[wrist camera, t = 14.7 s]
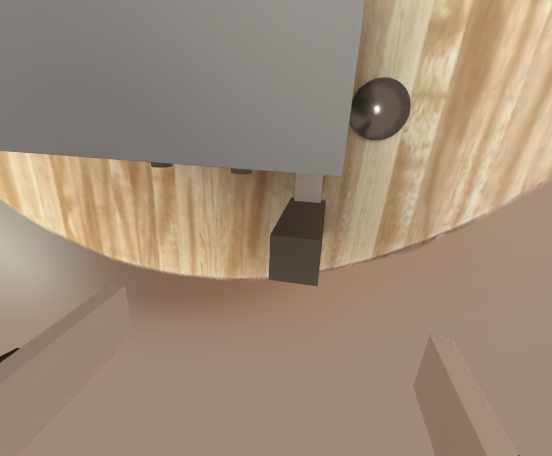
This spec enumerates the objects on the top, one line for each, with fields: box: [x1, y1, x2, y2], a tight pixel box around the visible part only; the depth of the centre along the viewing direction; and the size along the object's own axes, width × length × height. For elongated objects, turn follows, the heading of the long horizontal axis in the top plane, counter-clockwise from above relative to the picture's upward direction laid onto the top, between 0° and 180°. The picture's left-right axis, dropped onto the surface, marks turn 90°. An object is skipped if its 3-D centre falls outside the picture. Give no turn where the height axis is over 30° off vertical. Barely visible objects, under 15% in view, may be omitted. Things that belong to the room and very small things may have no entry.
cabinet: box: [0, 0, 365, 176], centre depth 19 cm, size 19×16×19 cm
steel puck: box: [350, 78, 410, 140], centre depth 26 cm, size 6×6×2 cm
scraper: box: [269, 173, 325, 286], centre depth 24 cm, size 4×17×12 cm, turn 178°
